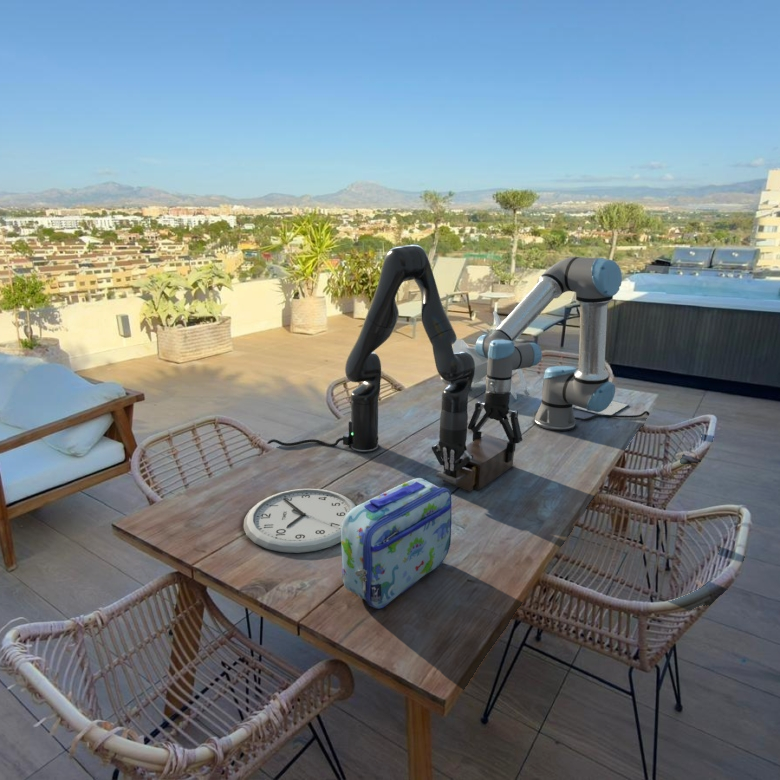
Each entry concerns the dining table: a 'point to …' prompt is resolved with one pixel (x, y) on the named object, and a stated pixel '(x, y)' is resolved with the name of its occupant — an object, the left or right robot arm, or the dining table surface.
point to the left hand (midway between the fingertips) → (450, 480)
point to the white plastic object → (485, 363)
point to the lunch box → (395, 540)
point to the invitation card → (608, 408)
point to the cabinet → (488, 459)
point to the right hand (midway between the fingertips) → (492, 456)
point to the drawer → (461, 477)
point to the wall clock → (298, 520)
